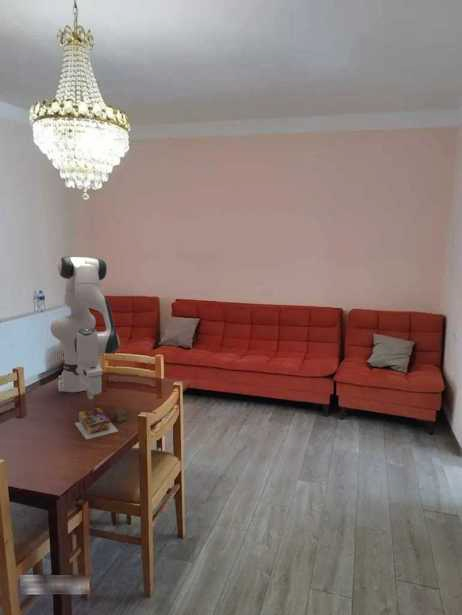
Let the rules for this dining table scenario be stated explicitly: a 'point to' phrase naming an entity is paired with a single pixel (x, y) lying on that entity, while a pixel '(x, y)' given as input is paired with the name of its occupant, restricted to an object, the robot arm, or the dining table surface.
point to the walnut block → (119, 415)
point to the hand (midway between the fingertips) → (90, 398)
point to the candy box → (94, 420)
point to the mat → (96, 434)
